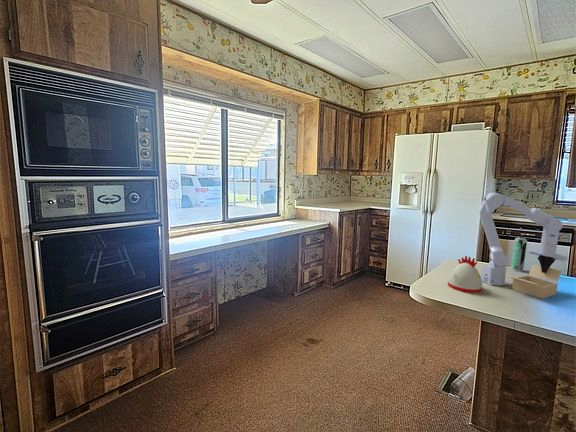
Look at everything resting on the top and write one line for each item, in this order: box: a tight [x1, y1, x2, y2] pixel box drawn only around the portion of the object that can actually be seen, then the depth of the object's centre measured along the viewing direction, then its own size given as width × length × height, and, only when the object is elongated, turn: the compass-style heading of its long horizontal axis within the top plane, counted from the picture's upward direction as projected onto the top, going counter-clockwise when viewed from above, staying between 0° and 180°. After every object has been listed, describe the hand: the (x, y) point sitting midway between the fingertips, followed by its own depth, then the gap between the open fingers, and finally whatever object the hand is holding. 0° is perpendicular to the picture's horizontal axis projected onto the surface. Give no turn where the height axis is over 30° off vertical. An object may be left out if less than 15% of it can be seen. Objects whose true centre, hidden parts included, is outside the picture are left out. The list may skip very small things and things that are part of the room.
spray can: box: [510, 234, 528, 273], centre depth 174 cm, size 6×6×20 cm
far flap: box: [528, 263, 562, 283], centre depth 146 cm, size 6×11×1 cm
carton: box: [511, 274, 559, 300], centre depth 144 cm, size 12×12×5 cm
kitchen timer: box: [447, 255, 483, 294], centre depth 146 cm, size 14×14×15 cm
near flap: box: [507, 275, 542, 287], centre depth 139 cm, size 6×11×1 cm, turn 27°
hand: (544, 272), depth 146 cm, fingers closed, pressing on far flap
